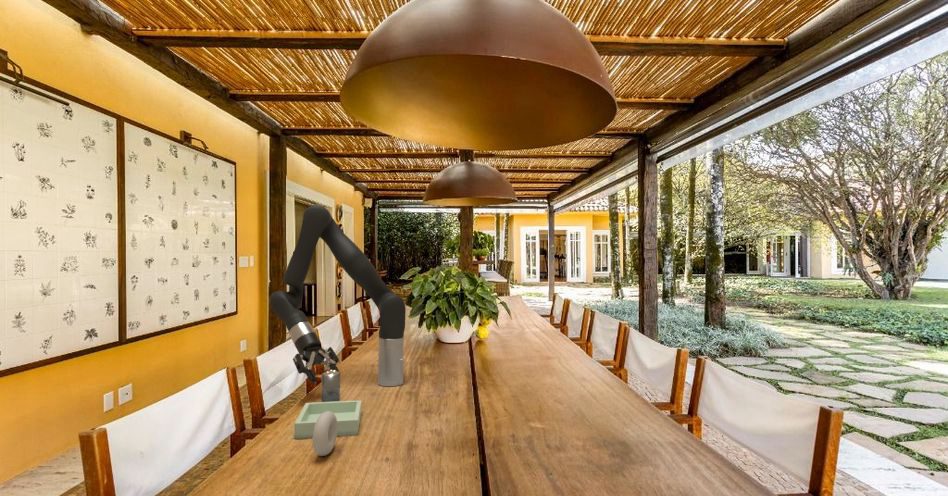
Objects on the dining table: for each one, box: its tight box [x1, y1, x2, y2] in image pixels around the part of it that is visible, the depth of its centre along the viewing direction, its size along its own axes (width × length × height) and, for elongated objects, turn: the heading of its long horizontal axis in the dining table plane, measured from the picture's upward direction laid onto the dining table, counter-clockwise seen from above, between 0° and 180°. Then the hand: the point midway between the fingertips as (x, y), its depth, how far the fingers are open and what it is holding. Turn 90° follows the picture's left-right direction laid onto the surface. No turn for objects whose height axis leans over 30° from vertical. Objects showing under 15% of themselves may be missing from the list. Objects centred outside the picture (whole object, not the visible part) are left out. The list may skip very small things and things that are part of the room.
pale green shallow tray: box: [293, 399, 362, 440], centre depth 122 cm, size 16×16×4 cm
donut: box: [312, 411, 338, 457], centre depth 105 cm, size 10×4×10 cm, turn 178°
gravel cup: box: [320, 369, 341, 402], centre depth 139 cm, size 6×6×11 cm
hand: (326, 378), depth 140 cm, fingers open, 8 cm apart
